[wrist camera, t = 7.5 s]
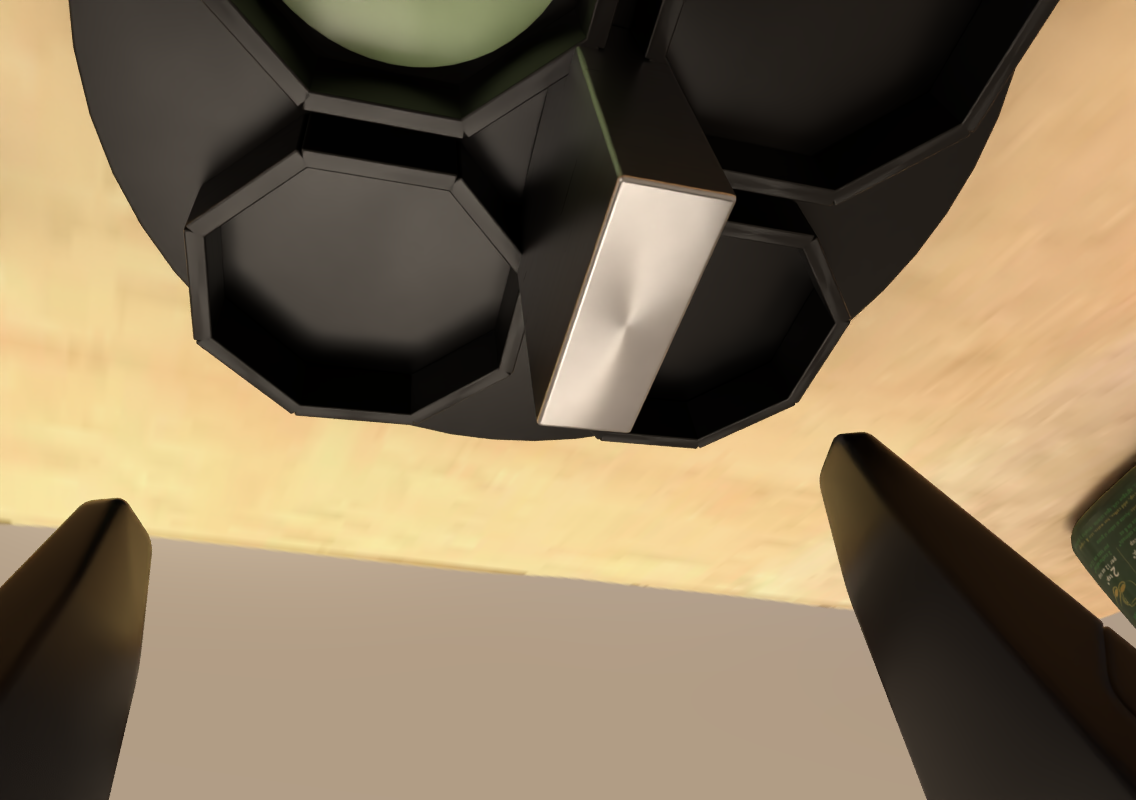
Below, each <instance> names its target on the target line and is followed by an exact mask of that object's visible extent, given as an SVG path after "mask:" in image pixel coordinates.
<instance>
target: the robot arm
mask: <svg viewBox="0 0 1136 800" xmlns="http://www.w3.org/2000/svg"><path fill="white" fill-rule="evenodd" d="M820 488H821V493H822V497H823V501H824V505H825V508H826V512H827V516H828V520H829V524H830V528H831V532H832V536H833V540H834V543H835V547H836V551H837V555H838V559H839V563H840V567H841V571H842V575H843V578H844V582H845V585H846V588H847V592H848V595H849V597H850V600H851V603H852V606H853V609H854V611H855V614H856V617H857V619H858V622H859V624H860V627H861V630H862V632H863V635H864V637H865V640H866V643H867V645H868V648H869V650H870V653H871V655H872V658H873V661H874V663H875V666H876V668H877V671H878V674H879V676H880V679H881V682H882V684H883V687H884V689H885V692H886V695H887V697H888V700H889V702H890V705H891V708H892V710H893V713H894V715H895V718H896V721H897V723H898V726H899V728H900V731H901V734H902V736H903V739H904V741H905V744H906V747H907V749H908V752H909V754H910V757H911V759H912V762H913V765H914V767H915V770H916V773H917V775H918V778H919V780H920V783H921V786H922V788H923V791H924V793H925V796H926V798H927V800H1136V649H1135V648H1134V647H1133V646H1132V645H1130V644H1129V643H1128V642H1127V641H1126V640H1125V639H1123V638H1122V637H1121V636H1119V635H1118V634H1117V633H1116V632H1115V631H1113V630H1112V629H1111V628H1110V627H1103V623H1102V621H1101V620H1099V619H1098V618H1097V617H1096V616H1095V615H1093V614H1092V613H1091V612H1090V611H1088V610H1087V609H1086V608H1085V607H1083V606H1082V605H1081V604H1080V603H1079V602H1077V601H1076V600H1075V599H1074V598H1072V597H1071V596H1070V595H1069V594H1067V593H1066V592H1065V591H1064V590H1062V589H1061V588H1060V587H1059V586H1058V585H1056V584H1055V583H1054V582H1053V581H1051V580H1050V579H1049V578H1048V577H1046V576H1045V575H1044V574H1043V573H1042V572H1040V571H1039V570H1038V569H1037V568H1035V567H1034V566H1033V565H1032V564H1030V563H1029V562H1028V561H1027V560H1025V559H1024V558H1023V557H1022V556H1021V555H1019V554H1018V553H1017V552H1016V551H1014V550H1013V549H1012V548H1011V547H1009V546H1008V545H1007V544H1006V543H1005V542H1003V541H1002V540H1001V539H1000V538H998V537H997V536H996V535H995V534H993V533H992V532H991V531H990V530H988V529H987V528H986V527H985V526H984V525H982V524H981V523H980V522H979V521H977V520H976V519H975V518H974V517H972V516H971V515H970V514H969V513H968V512H966V511H965V510H964V509H963V508H961V507H960V506H959V505H958V504H956V503H955V502H954V501H953V500H951V499H950V498H949V497H948V496H947V495H945V494H944V493H943V492H942V491H940V490H939V489H938V488H937V487H935V486H934V485H933V484H932V483H931V482H929V481H928V480H927V479H926V478H924V477H923V476H922V475H921V474H919V473H918V472H917V471H916V470H914V469H913V468H912V467H911V466H910V465H908V464H907V463H906V462H905V461H903V460H902V459H901V458H900V457H898V456H897V455H896V454H895V453H894V452H892V451H891V450H890V449H889V448H887V447H886V446H885V445H884V444H882V443H881V442H880V441H879V440H877V439H876V438H875V437H874V436H872V435H870V434H868V433H865V432H857V433H846V434H839V435H837V436H836V437H835V438H834V440H833V442H832V444H831V447H830V449H829V452H828V454H827V457H826V460H825V462H824V465H823V468H822V470H821V474H820ZM151 556H152V546H151V540H150V537H149V535H148V533H147V531H146V530H145V528H144V527H143V525H142V524H141V522H140V521H139V519H138V518H137V516H136V515H135V513H134V512H133V510H132V509H131V507H130V505H129V504H128V503H127V502H126V501H125V500H123V499H121V498H110V499H99V500H91V501H88V502H85V503H84V504H82V505H81V506H80V507H79V508H78V509H77V510H76V511H75V512H74V513H73V514H72V515H71V516H70V517H69V518H68V519H67V520H66V521H65V522H64V523H63V524H62V525H61V526H60V527H59V528H58V529H57V530H56V531H55V532H54V533H53V534H52V535H51V536H50V537H49V538H48V539H47V540H46V541H45V542H44V543H43V544H42V545H41V546H40V547H39V548H38V549H37V551H35V553H34V554H33V555H32V556H31V557H30V558H29V559H28V560H27V561H26V562H25V563H24V564H23V565H22V566H21V567H20V568H19V569H18V570H17V571H16V572H15V573H14V574H13V575H12V576H11V577H10V578H9V579H8V580H7V581H6V582H5V583H4V584H3V585H2V586H1V588H0V800H109V796H110V792H111V787H112V783H113V779H114V774H115V770H116V766H117V762H118V758H119V753H120V749H121V745H122V740H123V736H124V732H125V727H126V723H127V718H128V715H129V710H130V706H131V702H132V697H133V693H134V688H135V684H136V679H137V674H138V669H139V663H140V656H141V647H142V639H143V630H144V621H145V611H146V603H147V593H148V584H149V575H150V565H151Z"/></svg>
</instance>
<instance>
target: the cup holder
mask: <svg viewBox="0 0 1136 800" xmlns="http://www.w3.org/2000/svg"><path fill="white" fill-rule="evenodd" d="M1058 2H1059V0H69V10H70V20H71V30H72V39H73V48H74V52H75V56H76V61H77V65H78V69H79V73H80V77H81V81H82V85H83V89H84V93H85V97H86V101H87V106H88V110H89V114H90V116H91V119H92V121H93V124H94V127H95V129H96V132H97V134H98V137H99V139H100V142H101V144H102V147H103V150H104V152H105V155H106V157H107V160H108V162H109V165H110V168H111V170H112V173H113V175H114V177H115V178H116V180H117V182H118V184H119V186H120V188H121V189H122V191H123V193H124V195H125V197H126V199H127V200H128V202H129V204H130V206H131V208H132V210H133V211H134V213H135V215H136V217H137V219H138V221H139V222H140V224H141V226H142V227H143V229H144V230H145V231H146V233H147V234H148V236H149V237H150V238H151V240H152V241H153V243H154V244H155V245H156V247H157V248H158V250H159V251H160V252H161V254H162V255H163V257H164V258H165V259H166V261H167V262H168V264H169V265H170V266H171V268H172V269H173V271H174V272H175V273H176V274H177V275H178V276H179V277H180V278H181V280H182V281H183V282H184V283H185V284H186V285H187V286H188V287H189V295H190V306H191V317H192V327H193V338H194V340H197V341H196V343H197V344H198V345H199V346H201V347H202V348H203V349H205V350H206V351H207V352H209V353H210V354H211V355H213V356H214V357H215V358H217V359H218V360H220V361H221V362H222V363H224V364H225V365H226V366H228V367H229V368H230V369H232V370H233V371H234V372H236V373H237V374H238V375H240V376H241V377H242V378H244V379H245V380H246V381H248V382H249V383H250V384H252V385H253V386H254V387H256V388H257V389H258V390H260V391H261V392H263V393H264V394H265V395H267V396H268V397H269V398H271V399H272V400H273V401H275V402H276V403H277V404H279V405H280V406H281V407H283V408H284V409H285V410H287V411H288V412H289V413H291V414H292V413H294V412H295V415H297V416H309V417H321V418H333V419H345V420H357V421H369V422H381V423H393V424H405V425H412V426H417V427H421V428H426V429H430V430H435V431H439V432H444V433H448V434H454V435H462V436H470V437H478V438H486V439H495V440H523V441H543V440H562V439H578V438H585V437H592V436H595V437H596V438H597V439H600V440H601V441H610V442H622V443H634V444H646V445H658V446H670V447H682V448H694V449H696V448H697V447H698V446H699V448H701V447H704V446H706V445H708V444H710V443H712V442H715V441H717V440H719V439H721V438H724V437H726V436H728V435H730V434H732V433H735V432H737V431H739V430H741V429H743V428H746V427H748V426H750V425H752V424H754V423H757V422H759V421H761V420H763V419H766V418H768V417H770V416H772V415H774V414H777V413H779V412H781V411H783V410H785V409H788V408H790V407H792V406H794V405H795V403H798V402H799V401H800V399H801V398H802V396H803V394H804V393H805V391H806V390H807V388H808V387H809V385H810V384H811V382H812V381H813V379H814V378H815V376H816V374H817V373H818V371H819V370H820V368H821V367H822V365H823V364H824V362H825V361H826V359H827V358H828V356H829V354H830V353H831V351H832V350H833V348H834V347H835V345H836V344H837V342H838V341H839V339H840V337H841V336H842V334H843V333H844V331H845V330H846V328H847V327H848V325H849V324H850V321H851V320H852V319H853V318H854V317H855V316H856V315H858V314H859V313H860V312H861V311H862V310H863V309H864V308H865V307H866V306H867V305H868V304H869V303H871V302H872V301H873V300H874V299H875V298H876V297H877V296H878V295H879V294H880V293H881V292H883V291H884V289H885V288H886V287H887V286H888V285H889V284H890V283H891V282H892V281H893V280H894V278H895V277H896V276H897V275H898V274H899V273H900V272H901V271H902V270H903V268H904V267H905V266H906V265H907V264H908V263H909V262H910V261H911V260H912V259H913V257H914V256H915V255H916V254H917V253H918V251H919V250H920V249H921V247H922V246H923V245H924V243H925V242H926V241H927V239H928V238H929V237H930V235H931V234H932V233H933V231H934V230H935V229H936V227H937V226H938V225H939V223H940V222H941V221H942V219H943V218H944V217H945V215H946V214H947V212H948V211H949V209H950V207H951V206H952V204H953V203H954V201H955V199H956V198H957V196H958V194H959V193H960V191H961V189H962V188H963V186H964V184H965V183H966V181H967V179H968V178H969V176H970V174H971V173H972V171H973V169H974V168H975V166H976V164H977V162H978V159H979V157H980V155H981V153H982V151H983V149H984V147H985V145H986V142H987V140H988V138H989V136H990V134H991V132H992V130H993V128H994V126H995V123H996V121H997V119H998V117H999V114H1000V111H1001V109H1002V106H1003V103H1004V100H1005V97H1006V94H1007V91H1008V88H1009V86H1010V83H1011V80H1012V77H1013V74H1014V71H1015V68H1016V66H1017V65H1018V63H1019V62H1020V60H1021V59H1022V57H1023V56H1024V54H1025V53H1026V51H1027V49H1028V48H1029V46H1030V45H1031V43H1032V42H1033V40H1034V39H1035V37H1036V36H1037V34H1038V33H1039V31H1040V29H1041V28H1042V26H1043V25H1044V23H1045V22H1046V20H1047V19H1048V17H1049V16H1050V14H1051V13H1052V11H1053V9H1054V8H1055V6H1056V5H1057V3H1058Z"/></svg>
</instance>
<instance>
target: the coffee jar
mask: <svg viewBox="0 0 1136 800" xmlns="http://www.w3.org/2000/svg"><path fill="white" fill-rule="evenodd" d="M1071 543H1072V548H1073V551H1074V553H1075V554H1076V556H1077V557H1078V559H1079V560H1080V561H1081V563H1082V564H1083V565H1084V567H1085V568H1086V569H1087V571H1088V572H1089V573H1090V575H1091V576H1092V577H1093V578H1094V580H1095V581H1096V582H1097V583H1098V585H1099V586H1100V587H1101V588H1102V590H1103V591H1104V592H1105V593H1106V594H1107V596H1108V597H1109V598H1110V599H1111V600H1112V602H1113V603H1114V604H1115V605H1116V606H1117V607H1118V609H1119V610H1120V611H1121V612H1122V613H1123V614H1124V615H1125V617H1126V618H1127V619H1128V620H1129V621H1130V623H1131V624H1132V625H1133V626H1134V627H1135V628H1136V466H1135V467H1133V468H1132V469H1131V470H1130V471H1128V472H1127V473H1126V474H1125V475H1124V476H1123V477H1122V478H1121V479H1120V480H1119V481H1118V482H1116V483H1115V484H1114V485H1113V486H1112V487H1111V488H1110V489H1109V490H1108V491H1107V492H1105V493H1104V494H1103V495H1102V496H1101V497H1100V498H1099V499H1098V500H1097V501H1096V502H1095V503H1094V504H1093V505H1092V506H1091V507H1090V508H1089V509H1088V510H1087V511H1086V512H1085V514H1084V515H1083V516H1082V517H1081V518H1080V519H1079V520H1078V522H1077V523H1076V525H1075V526H1074V529H1073V531H1072V535H1071Z"/></svg>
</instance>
